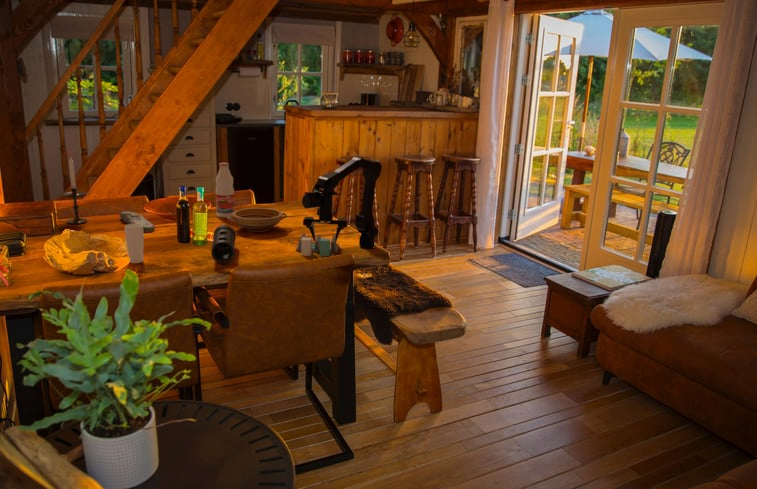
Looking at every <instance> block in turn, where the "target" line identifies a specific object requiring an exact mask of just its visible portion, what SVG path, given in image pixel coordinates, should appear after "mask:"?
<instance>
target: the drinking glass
mask: <svg viewBox="0 0 757 489" xmlns="http://www.w3.org/2000/svg"><path fill="white" fill-rule="evenodd" d="M144 233H145V232H143V225H141V224H128V223H127V224H126V225H125V226H124V236H125V243H126V247H127V254H128V259H129V258H130V262H129V263H131V264H140V263H143V262H144V242H145V240H144V238H145V237H144V236H145V235H144Z"/></svg>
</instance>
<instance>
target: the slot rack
mask: <svg viewBox="0 0 757 489" xmlns="http://www.w3.org/2000/svg"><path fill="white" fill-rule="evenodd" d="M306 235H307V234H306V233H301V236H300V237H299V240H298V244H297V247H296V249H295V251H296V252H300V253H301V239H302V237H305V238H307V236H306ZM321 238H322V234H316V237H315V241H314V242H312V253H320V239H321ZM335 238H336V234H334V235H332V238H331V239H330V254H338V252H339V248H340V243H337V241H336V242H335Z"/></svg>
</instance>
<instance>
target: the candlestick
mask: <svg viewBox="0 0 757 489" xmlns="http://www.w3.org/2000/svg"><path fill="white" fill-rule="evenodd" d="M68 156H69V160H68V166H69V167H68V168H69V175H70V184H71V186H70V187H69V190H70V189H71V190H70V191H65V192H62V193H61V196H62V197H63V198H68V199H69V198H70V199H73V206H72V209H73V210H74V211H73V214H74V218H70V219H67V220H66V224H68V225H75V226H76V225H82V224H87V223H88V219H87V218H84V217H83V218H82V217H80V216H79V213H80V211H79V209H80V206H78V202H77V201H78V200H77V199H78V198H83V197H86V196H88V192H87V191H83V190H82V191H81V190H77V189H79V187H77V184H76V176H75V166H74V165H75V163H74V160H73V158H72V152H71V151H70V150H68Z"/></svg>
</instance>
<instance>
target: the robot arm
mask: <svg viewBox="0 0 757 489" xmlns="http://www.w3.org/2000/svg"><path fill="white" fill-rule="evenodd" d="M360 168H361V169H362V174H363V177H364V186H363V192H362V194H363V195H362V202H361V210H360V212H359V214H355V220H354V224H355V227H356V229H357V232H358V233H360V235H359V248H360V249H369V248H373V247H374V245H375V246H376V244H375V241H376V238H375V237H376V236H378V235H379V232H380V231H379V229H378V228H377V226H375V218H374V215H373V207H374V199H375V192H376V185H377V184H376V183H377V180H378V179H379V178H380V176H381V173H382V170H383V165H382V163H381V162H380V161H377V160H374V159H373V160H372V159H365V158H363V157H360V156H354V157H352V159H350V160H349V161H347V162H346V163H344V164H342V165H341V166H340V167H338V168H337V169H335V170H334V171H332V172H328V173H324V174H322V175H320V176H319V177H318V178H317V181H316V183H315V184H314V186H313V188H312V189H311V191H305V192H304V195H303V196H302V199H301V204H302V206H303V208H304V209H307V210H308V209H312V208H313V209H314V208H317V209H316V216H318V218H314V216H308V215H307V216H305V217H304V218H303V220H302V226H305V228H307V229H308V230H309V232H310V234H311V236H312V237H311V238H312V239H313V242H315V240H316V231H315V224H318V225H319V224H320V225H321V224H322V225H337V226H336V233H335V235H336V238H335V242H336V243H337V241H338V238H339V235H340V233H341V231H342V230H344V229H345V228H347V227H348V225H349V220H348V219H349V218H347V217H346V218H345V217H338V219H334V211H333V206H334V203H333V202H334V196H337V195H338V193H337V192H336V191H335V189H336V188H337V187H338V186H339V184H340V182H341V181H342V180H344V179H345V178H346V177H348V176H350V174H352V173H354V172H355V171H357V170H358V169H360ZM374 248H375V247H374Z"/></svg>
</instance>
